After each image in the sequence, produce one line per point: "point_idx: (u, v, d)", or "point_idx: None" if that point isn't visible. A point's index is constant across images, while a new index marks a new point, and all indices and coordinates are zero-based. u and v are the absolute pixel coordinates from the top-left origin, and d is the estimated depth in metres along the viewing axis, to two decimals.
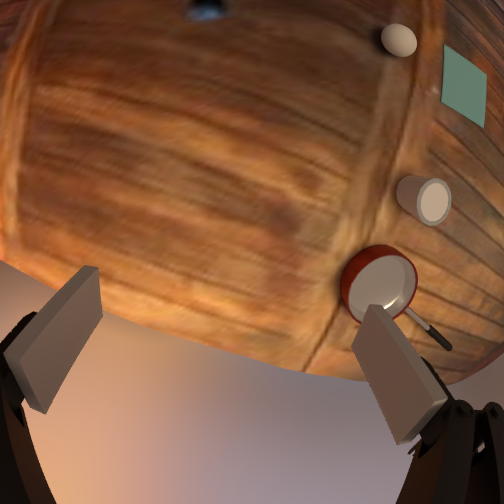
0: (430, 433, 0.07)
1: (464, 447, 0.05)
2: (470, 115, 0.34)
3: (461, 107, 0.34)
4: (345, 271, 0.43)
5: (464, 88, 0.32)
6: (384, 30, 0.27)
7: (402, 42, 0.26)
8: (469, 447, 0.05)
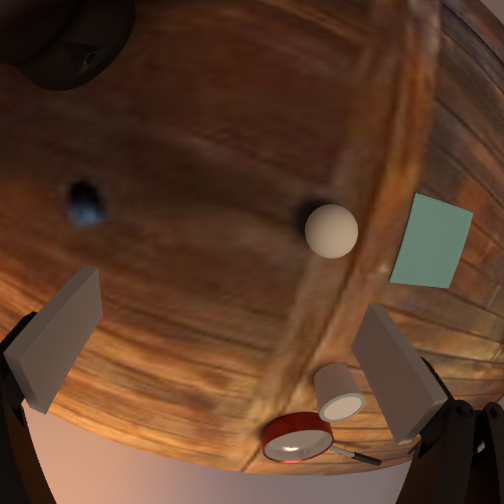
0: (430, 433, 0.07)
1: (464, 447, 0.05)
2: (431, 281, 0.34)
3: (419, 277, 0.34)
4: (264, 430, 0.43)
5: (432, 250, 0.33)
6: (308, 224, 0.28)
7: (328, 251, 0.27)
8: (469, 447, 0.05)
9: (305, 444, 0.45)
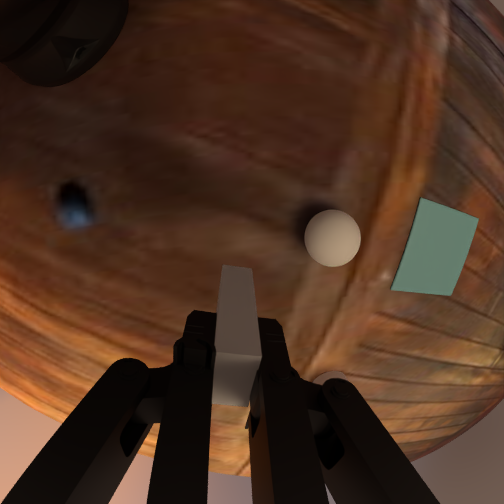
0: (253, 407, 0.08)
1: (296, 422, 0.06)
2: (434, 289, 0.33)
3: (422, 284, 0.33)
4: None
5: (436, 257, 0.31)
6: (308, 230, 0.26)
7: (329, 260, 0.25)
8: (304, 419, 0.06)
9: None
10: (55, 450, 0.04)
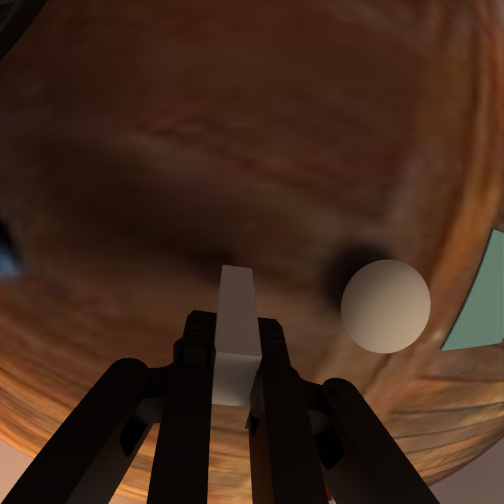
0: (253, 407, 0.08)
1: (296, 421, 0.06)
2: (486, 340, 0.21)
3: (475, 338, 0.21)
4: None
5: (496, 303, 0.19)
6: (350, 300, 0.14)
7: (383, 349, 0.14)
8: (304, 419, 0.06)
9: None
10: (55, 450, 0.04)
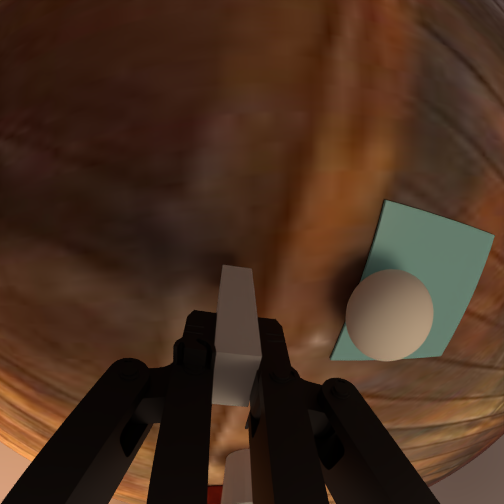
0: (253, 407, 0.08)
1: (296, 421, 0.06)
2: None
3: None
4: None
5: None
6: None
7: None
8: (304, 419, 0.06)
9: None
10: (55, 450, 0.04)
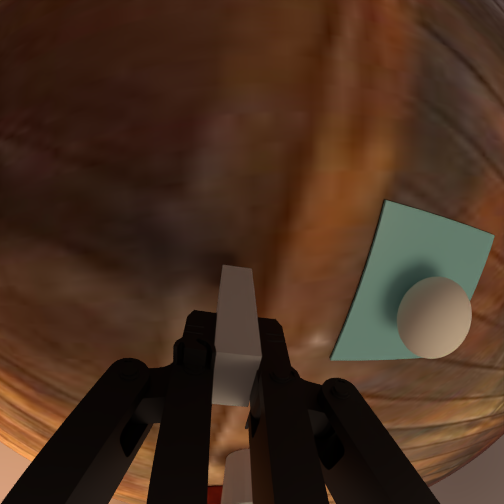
0: (253, 407, 0.08)
1: (296, 421, 0.06)
2: None
3: (390, 348, 0.20)
4: None
5: None
6: (403, 302, 0.16)
7: (419, 350, 0.14)
8: (304, 419, 0.06)
9: None
10: (55, 450, 0.04)
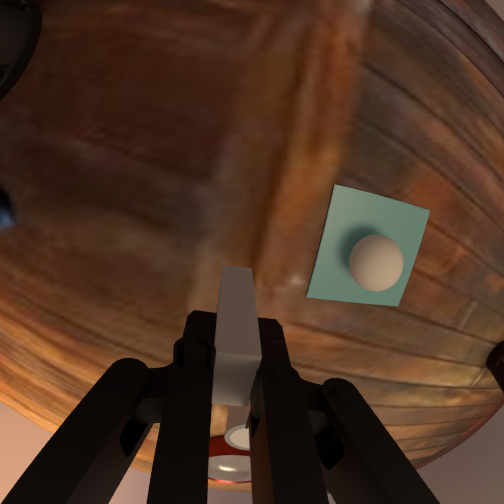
0: (253, 406, 0.08)
1: (296, 421, 0.06)
2: (370, 298, 0.30)
3: (351, 292, 0.30)
4: None
5: None
6: (351, 251, 0.26)
7: (363, 282, 0.25)
8: (304, 419, 0.06)
9: (246, 467, 0.40)
10: (55, 450, 0.04)
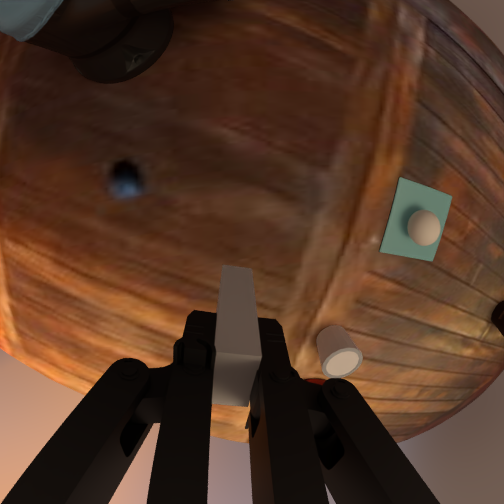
0: (253, 407, 0.08)
1: (296, 421, 0.06)
2: (416, 254, 0.42)
3: (405, 249, 0.41)
4: None
5: None
6: (409, 220, 0.38)
7: (419, 238, 0.36)
8: (304, 419, 0.06)
9: None
10: (55, 450, 0.04)
